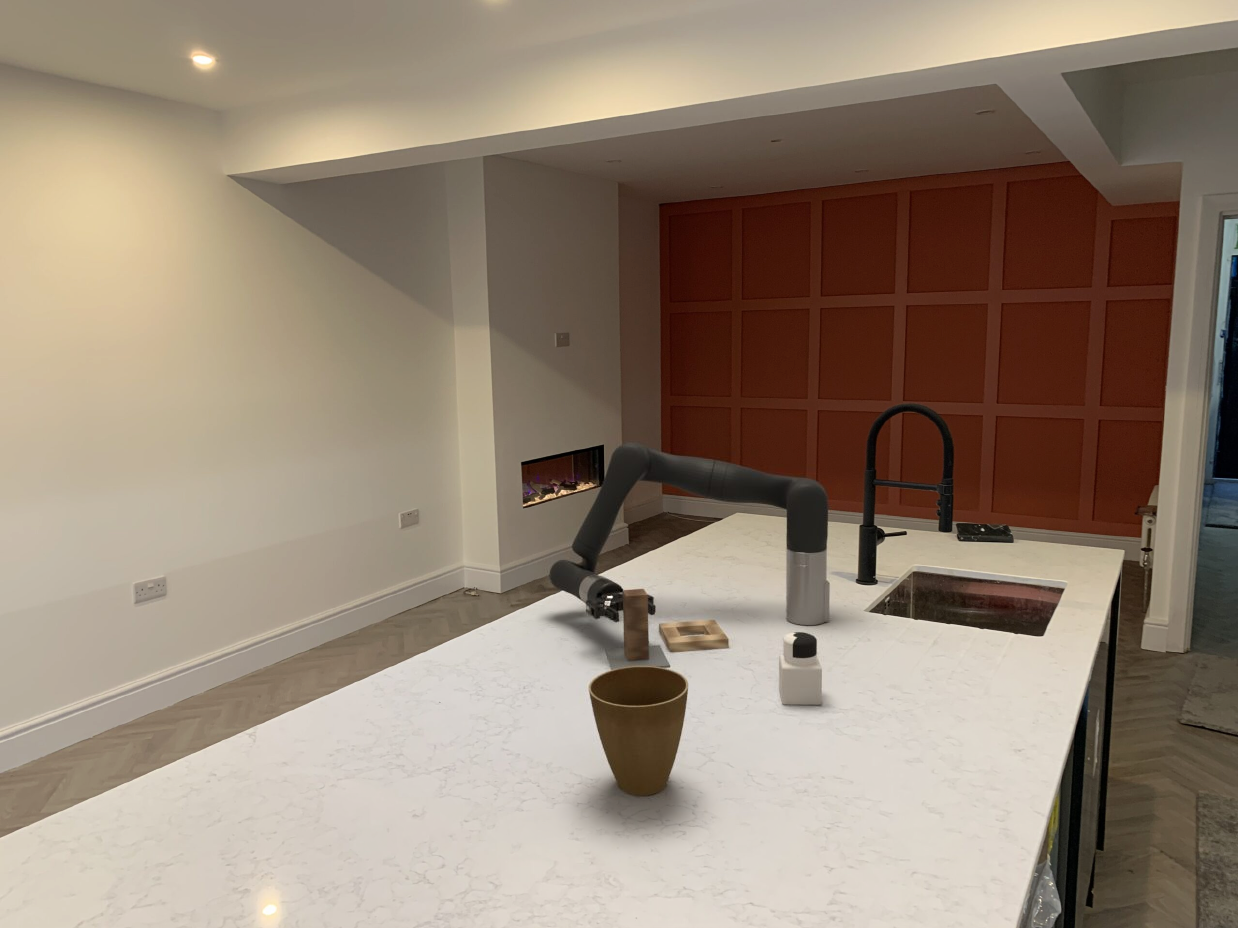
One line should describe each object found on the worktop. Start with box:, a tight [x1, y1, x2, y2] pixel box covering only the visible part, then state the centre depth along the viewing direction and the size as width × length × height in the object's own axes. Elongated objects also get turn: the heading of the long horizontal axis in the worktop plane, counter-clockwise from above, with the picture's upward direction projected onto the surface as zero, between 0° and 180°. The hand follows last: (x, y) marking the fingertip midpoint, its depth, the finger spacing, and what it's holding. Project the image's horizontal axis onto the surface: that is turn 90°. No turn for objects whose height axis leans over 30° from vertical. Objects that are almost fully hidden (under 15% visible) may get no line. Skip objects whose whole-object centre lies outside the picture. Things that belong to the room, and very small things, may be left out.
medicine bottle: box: [778, 631, 823, 706], centre depth 160 cm, size 7×7×12 cm
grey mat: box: [604, 644, 671, 670], centre depth 182 cm, size 12×12×1 cm
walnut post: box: [622, 588, 650, 661], centre depth 181 cm, size 4×4×14 cm
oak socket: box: [658, 619, 730, 653], centre depth 193 cm, size 13×13×2 cm
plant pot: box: [588, 666, 689, 797], centre depth 130 cm, size 15×15×16 cm
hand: (635, 613), depth 181 cm, fingers open, 8 cm apart
